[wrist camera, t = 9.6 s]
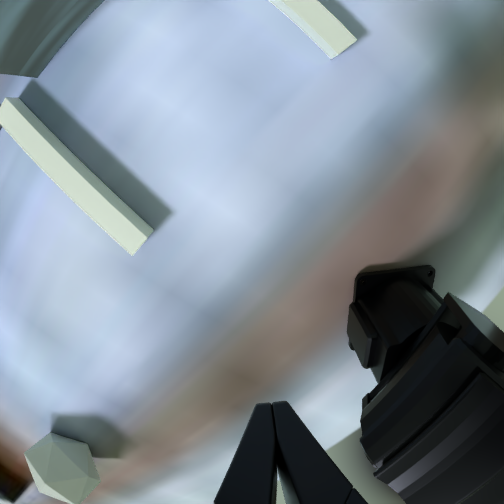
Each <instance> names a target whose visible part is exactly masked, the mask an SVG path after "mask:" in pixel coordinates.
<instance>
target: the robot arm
mask: <svg viewBox="0 0 504 504" xmlns="http://www.w3.org/2000/svg"><path fill="white" fill-rule="evenodd" d="M429 271H430V272H429ZM428 272H429V274H427V273H428ZM434 277H435V269H434V268H433V267H432V266H431V265H425V266H417V267H409V268H401V269H393V270H384V271H376V272H367V273H361V274H358V275H357V276H356V278H355V283H354V296H353V302H352V303H351V304H350V306H349V315H348V325H347V334H348V337H349V346H350V348H351V350H355V352H356V354H357V356H358V358H359V360H360V362H361V365H362V367H364V368H365V369H368V368H371V370H372V372H373V374H374V377H375V379H376V381H377V383H378V385H377V386H376V387H375V388H374V389H373V390H372V391H371V392H370V393H367V394H366V396H365V397H364V398H363V399H362V415H361V420H360V423H361V428H362V437H361V438H360V444H361V446H362V448H363V450H364V453H365V455H366V457H367V458H368V460H369V461H370V462H371V463H372V465H373V466H374V467H375V468H377V470H376V471H375V472H374V473H373V474H374V476H375V477H376V478H377V479H379V480H381V481H382V482H384V483H386V484H388V485H389V486H390V487H391V488H392V489H393V490H395V491H396V492H397V493H398V494H399V495H400V496H401V498H402V499H403V500H404V501H405V503H406V504H504V332H503V331H502V330H500V329H499V328H498V327H497V326H496V325H495V324H494V323H493V322H492V321H491V320H490V319H489V318H487V317H486V316H485V315H484V314H482V313H481V312H479V311H478V310H476V309H475V308H473V307H472V306H470V305H468V304H467V303H465V302H464V301H462V300H461V299H459V298H457V297H456V296H454V295H453V294H451V293H449V292H448V293H447V294H446V296H445V297H444V299H442V298H441V297H440V296H439V295H438V294H437V293H436V292H435V291H434V290H433V289H432V288H433V283H434ZM362 279H365V280H364V282H362V283H360V281H361V280H362ZM277 468H278V474H279V478H280V482H281V486H282V490H283V494H284V497H285V501H286V504H368V503H367V502H366V501H365V499H364V498H363V497H362V496H361V495H360V494H359V492H358V491H357V490H356V489H355V488H353V485H352V484H351V483H350V482H349V481H348V479H347V478H346V477H345V476H344V474H343V473H342V472H341V471H340V469H339V468H338V467H337V466H336V464H335V463H334V462H333V461H332V459H331V458H330V457H329V456H328V455H327V453H326V452H325V450H324V449H323V448H322V447H321V445H320V444H319V443H318V441H317V440H316V439H315V438H314V436H313V435H312V434H311V432H310V431H309V430H308V428H307V427H306V426H305V424H304V423H303V422H302V420H301V419H300V418H299V416H298V415H297V414H296V412H295V411H294V410H293V408H292V407H291V406H290V404H289V403H288V402H287V401H279V402H273V403H272V405H271V403H258V404H256V406H255V408H254V410H253V413H252V415H251V417H250V420H249V422H248V425H247V427H246V429H245V432H244V434H243V437H242V439H241V441H240V444H239V446H238V448H237V451H236V453H235V455H234V458H233V460H232V462H231V464H230V467H229V469H228V471H227V473H226V476H225V478H224V480H223V482H222V484H221V487H220V489H219V491H218V493H217V495H216V497H215V500H214V504H276V495H277ZM352 488H353V489H352Z"/></svg>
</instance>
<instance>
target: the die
mask: <svg viewBox="0 0 504 504" xmlns="http://www.w3.org/2000/svg"><path fill="white" fill-rule="evenodd" d="M24 454H25V457H26V460H27V463H28V465H29V468H30V471H31V473H32V476H33V478H34V481H35V483H36V485H37V488H38V490H39V492H41V493H44V494H46V495H49V496H51V497H54V498H56V499H59V500H62V501H64V502H67V503H70V504H81V502H82V501H83V500H84V499H85V498H86V497H87V496H88V495H89V494H90V493H91V492H92V491H93V490H94V488H95V487H96V486H97V485H98V484H99V483H100V482H101V480H100V477H99V474H98V472H97V469H96V466H95V464H94V461H93V458H92V455H91V452H90V449H89V446H88V444H86V443H83V442H79V441H76V440H73V439H70V438H66V437H63V436H60V435H57V434H55V433H52V432H50V433H49V434H48V435H46V436H45V437H44V438H42V439H41V440H40V441H39V442H37V443H36V444H35V445H34V446H32V447H31V448H30V449H28V450H27V451H26V452H25V453H24Z"/></svg>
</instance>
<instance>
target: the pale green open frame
mask: <svg viewBox="0 0 504 504" xmlns="http://www.w3.org/2000/svg"><path fill="white" fill-rule="evenodd" d="M268 1H269V2H271V3H272V4H273V5H274V6H275V7H276V8H278V9H279V10H280V11H281V12H282V13H283V14H284V15H286V16H287V17H288V18H289V19H290V20H291V21H292V22H293V23H294V24H295V25H297V26H298V27H299V28H300V29H301V30H302V31H303V32H304V33H305V34H306V35H307V36H308V37H309V38H310V39H311V40H312V41H313V42H314V43H315V44H316V45H317V46H318V47H319V48H320V49H321V50H322V51H323V52H324V53H325V54H326V55H327V56H328V57H329V58H330V59H333V58H334V57H336V56H337V55H339V54H340V53H341V52H343V51H344V50H345V49H346V48H348V47H349V46H350V45H351V44H353V43H354V42H355V41H357V39H356V38H355V37H354V36H353V35H352V34H351V33H350V32H349V31H348V30H347V29H346V27H345V26H344V25H343V24H342V23H341V22H340V21H339V20H338V19H337V18H336V17H335V16H334V15H333V14H331V13H330V12H329V11H328V10H327V9H326V8H325V7H324V6H323V5H322V4H321V3H320V2H319V1H318V0H268ZM0 124H1V125H2V127H3V128H4V129H5V130H6V131H7V132H8V133H9V135H10V136H11V137H12V138H13V139H14V140H15V141H16V142H17V143H18V145H19V146H20V147H21V148H22V149H23V150H24V151H25V152H26V153H27V154H28V155H29V156H30V158H31V159H32V160H33V161H34V162H35V163H36V164H37V165H38V166H39V167H40V168H41V169H42V170H43V171H44V172H45V173H46V174H47V175H48V176H49V177H50V178H51V179H52V180H53V182H54V183H55V184H56V185H57V186H58V187H59V188H60V189H61V190H62V191H63V192H64V193H65V194H66V195H67V196H68V197H69V198H71V199H72V200H73V201H74V202H75V203H76V204H77V205H78V206H79V207H80V208H81V209H82V210H83V211H84V212H85V213H86V214H87V215H88V216H89V217H90V218H91V219H92V220H93V221H94V222H95V223H97V224H98V225H99V226H100V227H101V228H102V229H103V230H104V231H105V232H106V233H107V234H108V235H109V236H111V237H112V238H113V239H114V240H115V241H116V242H117V243H118V244H119V245H120V246H122V247H123V248H124V249H125V250H126V251H127V252H128V253H129V254H131V255H132V256H133V255H134V254H135V253H136V251H137V250H138V249H139V248H140V247H141V246H142V244H143V243H144V242H145V241H146V240H147V239H148V237H149V236H150V235H151V233H152V232H153V231H154V229H152V228H151V227H150V226H149V225H148V224H147V223H146V222H145V221H144V220H143V219H141V218H140V217H139V216H138V215H137V214H136V213H135V212H134V211H133V210H132V209H131V208H130V207H128V206H127V205H126V204H125V203H124V202H123V201H122V200H121V199H120V198H119V197H118V196H117V195H116V194H115V193H113V192H112V191H111V190H110V189H109V188H108V187H107V186H106V185H105V184H104V183H103V182H102V181H101V180H100V179H99V178H98V177H97V176H96V175H95V174H93V173H92V172H91V171H90V170H89V169H88V168H87V167H86V166H85V165H84V164H83V163H82V162H81V161H80V160H79V159H78V158H77V157H76V156H75V155H74V154H73V153H72V152H71V151H70V150H69V149H68V148H67V147H66V146H65V145H64V144H63V143H62V142H61V141H60V140H59V139H58V138H57V137H56V136H55V135H54V134H53V133H52V132H51V131H50V130H49V129H48V128H47V127H46V126H45V125H44V124H43V123H42V122H41V121H40V120H39V119H38V118H37V117H36V116H35V115H34V114H33V113H32V112H31V111H30V109H29V108H28V107H27V106H26V105H25V104H24V103H23V102H22V101H21V100H20V99H19V98H5V99H4V101H3V103H2V105H1V107H0Z"/></svg>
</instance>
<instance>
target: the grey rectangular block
mask: <svg viewBox="0 0 504 504" xmlns="http://www.w3.org/2000/svg"><path fill="white" fill-rule="evenodd" d="M103 1H104V0H0V74H8V75H18V76H26V77H34V78H38V76H39V75H40V73H41V72H42V71H43V69H44V68H45V67H46V65H47V64H48V63H49V62H50V60H51V59H52V58H53V56H54V55H55V54H56V53H57V51H58V50H59V49H60V48H61V47H62V45H63V44H64V43H65V42H66V41H67V39H68V38H69V37H70V36H71V35H72V34H73V32H74V31H75V30H76V29H77V28H78V27H79V26H80V25H81V24H82V23H83V21H84V20H85V19H86V18H87V17H88V16H89V15H90V14H91V13H92V12H93V11H94V10H95V9H96V8H97V7H98V6H99V5H100V4H101V3H102V2H103Z"/></svg>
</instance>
